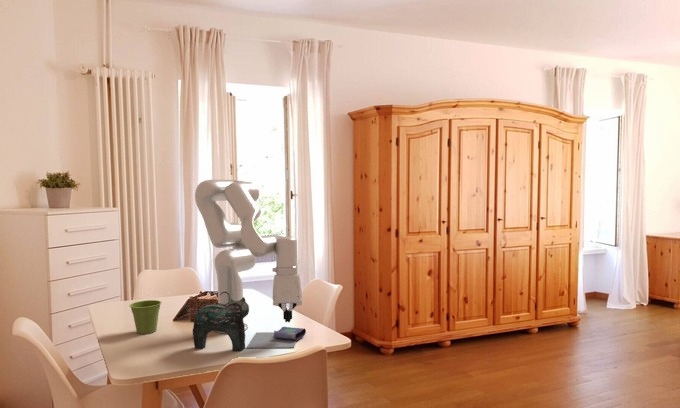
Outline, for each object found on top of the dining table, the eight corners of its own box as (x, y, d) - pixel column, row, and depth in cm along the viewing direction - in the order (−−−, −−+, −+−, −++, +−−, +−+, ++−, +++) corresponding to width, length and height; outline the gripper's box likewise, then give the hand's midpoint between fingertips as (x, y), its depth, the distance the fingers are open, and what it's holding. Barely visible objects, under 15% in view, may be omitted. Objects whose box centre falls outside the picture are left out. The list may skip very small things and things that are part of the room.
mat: (246, 348, 173) (246, 347, 173) (256, 333, 191) (256, 332, 191) (293, 348, 173) (293, 347, 173) (299, 333, 191) (299, 331, 191)
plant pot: (124, 332, 196) (124, 304, 196) (153, 326, 205) (152, 298, 204) (138, 338, 188) (137, 308, 188) (168, 331, 197) (167, 302, 196)
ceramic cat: (251, 347, 174) (249, 290, 174) (243, 353, 168) (241, 294, 167) (199, 344, 179) (197, 289, 178) (189, 350, 173) (188, 292, 172)
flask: (295, 333, 178) (268, 331, 182) (295, 342, 178) (268, 340, 182) (305, 327, 187) (279, 325, 190) (306, 335, 187) (280, 333, 190)
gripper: (264, 273, 178) (265, 324, 178) (306, 272, 177) (307, 324, 178) (268, 269, 185) (269, 318, 186) (308, 269, 185) (309, 318, 185)
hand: (287, 321), depth 182 cm, fingers closed
